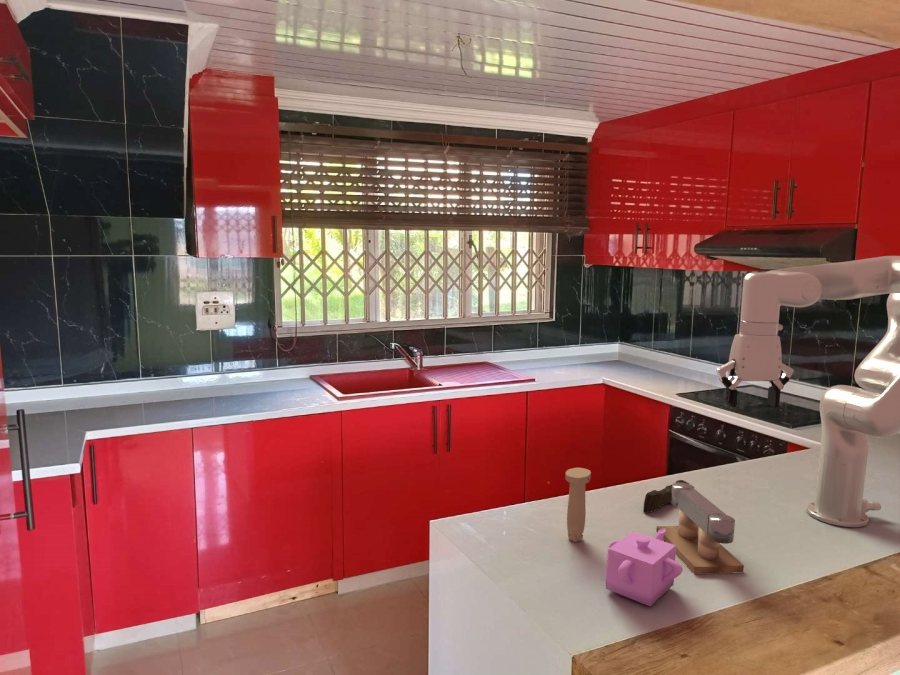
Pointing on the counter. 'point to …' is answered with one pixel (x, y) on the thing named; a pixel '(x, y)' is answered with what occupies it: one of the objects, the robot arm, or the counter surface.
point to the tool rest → (699, 548)
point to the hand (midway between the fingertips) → (751, 405)
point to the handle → (576, 502)
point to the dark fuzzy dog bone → (658, 498)
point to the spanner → (703, 513)
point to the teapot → (641, 567)
